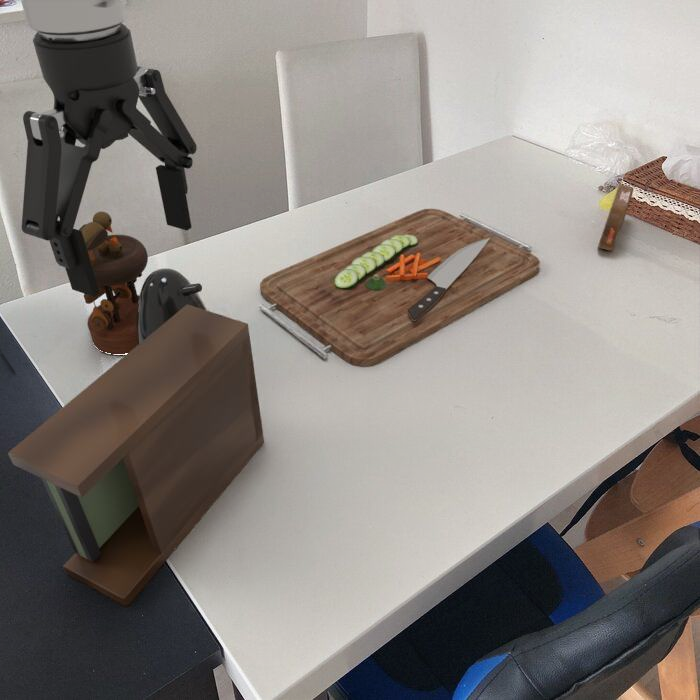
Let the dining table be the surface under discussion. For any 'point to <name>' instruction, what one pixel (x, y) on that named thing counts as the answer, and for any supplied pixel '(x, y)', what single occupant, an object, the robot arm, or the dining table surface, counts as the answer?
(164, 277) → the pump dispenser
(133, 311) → the music box
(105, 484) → the sliding door
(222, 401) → the cabinet frame
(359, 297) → the chopping board
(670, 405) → the dining table surface
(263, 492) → the dining table surface
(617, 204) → the tin
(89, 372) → the dining table surface
